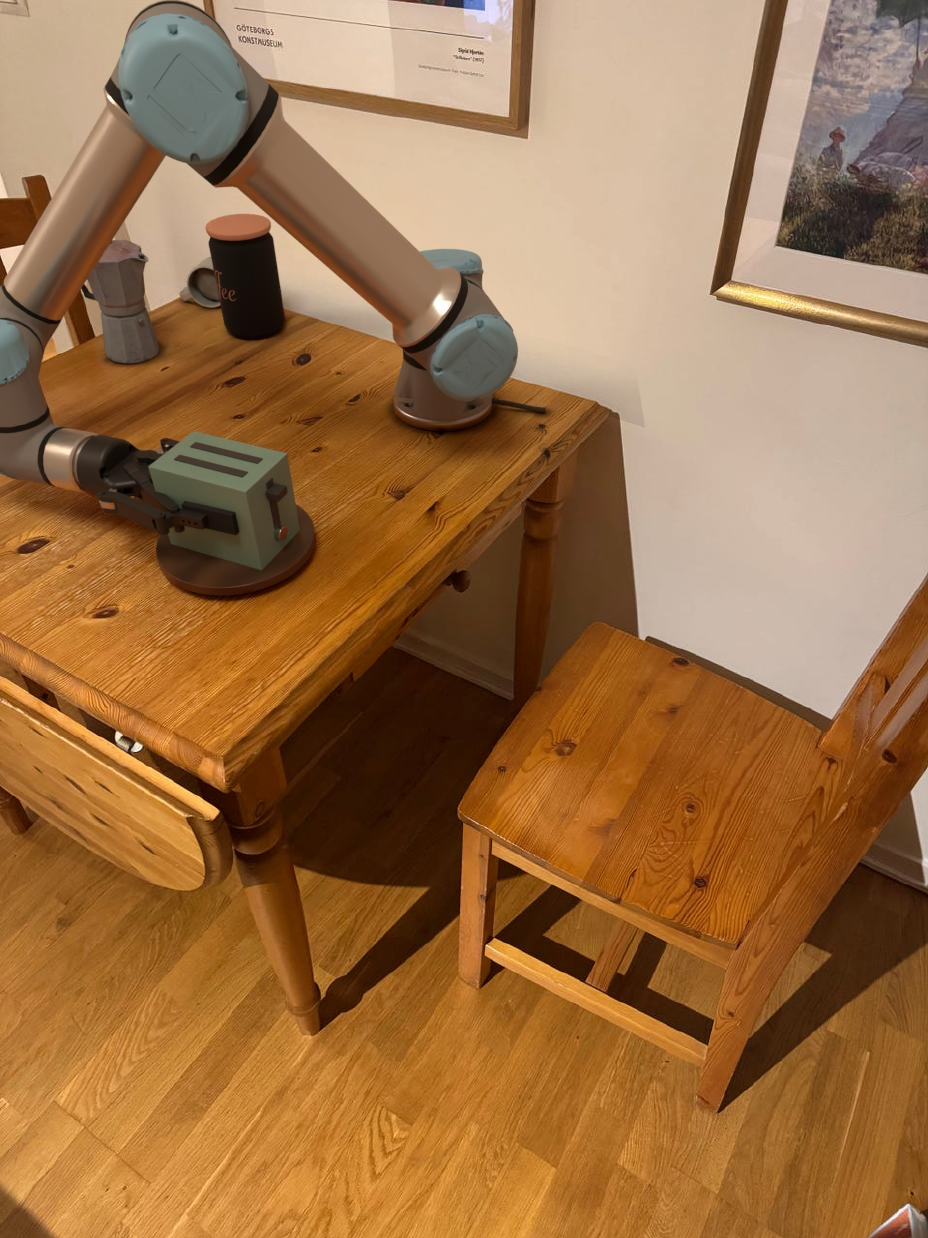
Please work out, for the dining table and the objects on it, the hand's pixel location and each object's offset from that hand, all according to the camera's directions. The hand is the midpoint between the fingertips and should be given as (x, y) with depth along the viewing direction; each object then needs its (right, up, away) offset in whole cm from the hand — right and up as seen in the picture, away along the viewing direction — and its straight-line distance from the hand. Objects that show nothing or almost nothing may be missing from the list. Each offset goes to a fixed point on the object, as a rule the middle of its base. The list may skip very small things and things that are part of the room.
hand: (257, 500), depth 100 cm
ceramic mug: (-24, +47, +64) cm, 83 cm away
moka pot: (-33, +32, +48) cm, 66 cm away
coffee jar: (-13, +38, +55) cm, 68 cm away
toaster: (-4, -5, +6) cm, 9 cm away
